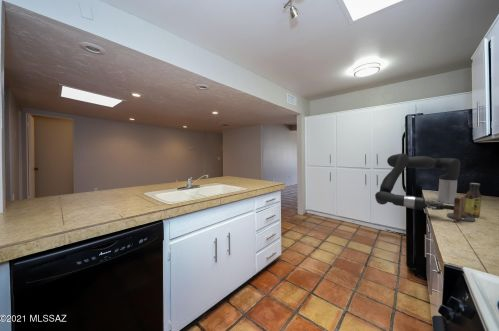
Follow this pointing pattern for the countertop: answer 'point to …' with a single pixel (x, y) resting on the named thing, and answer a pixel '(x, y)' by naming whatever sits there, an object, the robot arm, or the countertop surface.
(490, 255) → the countertop surface
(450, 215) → the base
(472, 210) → the sauce bottle
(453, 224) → the countertop surface
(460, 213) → the brown wooden block
